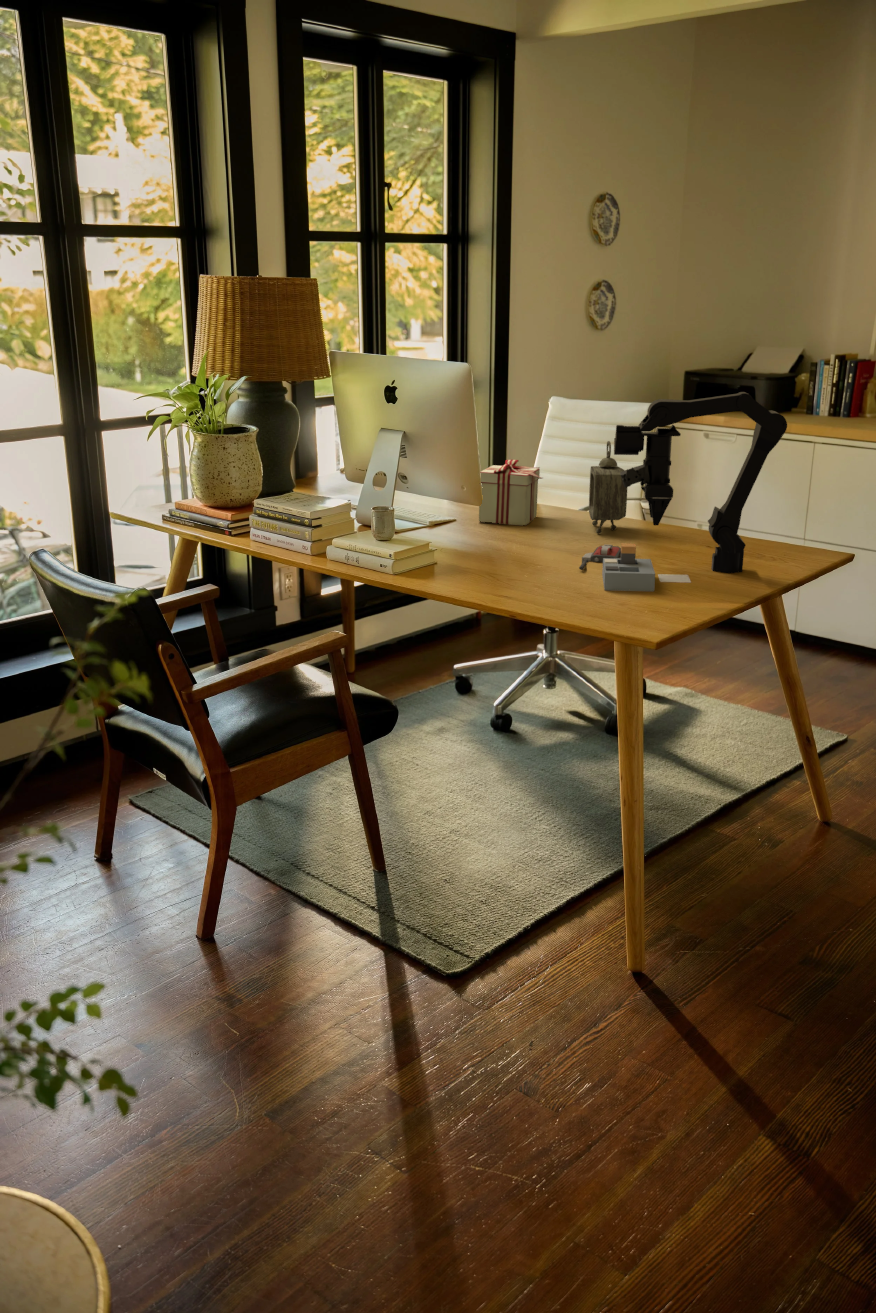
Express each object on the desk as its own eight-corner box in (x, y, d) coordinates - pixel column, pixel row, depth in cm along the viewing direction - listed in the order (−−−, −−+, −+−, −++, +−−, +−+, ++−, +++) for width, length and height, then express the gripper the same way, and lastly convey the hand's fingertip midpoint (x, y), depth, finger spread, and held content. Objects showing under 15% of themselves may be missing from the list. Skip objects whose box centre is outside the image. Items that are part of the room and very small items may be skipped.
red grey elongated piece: (589, 555, 280) (576, 573, 262) (589, 538, 279) (576, 555, 261) (623, 557, 278) (612, 576, 260) (623, 540, 277) (613, 558, 258)
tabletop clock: (588, 525, 314) (591, 437, 306) (619, 525, 314) (623, 437, 306) (592, 535, 301) (596, 444, 293) (625, 535, 300) (630, 444, 292)
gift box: (539, 526, 313) (541, 467, 307) (477, 524, 317) (477, 465, 311) (548, 515, 328) (549, 458, 323) (488, 513, 332) (488, 456, 327)
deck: (687, 578, 255) (687, 574, 255) (690, 586, 249) (691, 582, 248) (657, 578, 256) (657, 574, 256) (659, 585, 249) (660, 581, 249)
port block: (649, 579, 255) (650, 557, 253) (653, 595, 242) (655, 572, 240) (602, 578, 256) (603, 556, 254) (604, 594, 243) (605, 571, 241)
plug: (633, 577, 253) (635, 543, 250) (634, 580, 250) (635, 546, 247) (619, 576, 253) (621, 543, 251) (620, 580, 250) (621, 546, 248)
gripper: (621, 449, 262) (618, 513, 267) (625, 460, 244) (621, 528, 249) (668, 449, 261) (664, 513, 266) (675, 461, 243) (671, 529, 248)
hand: (654, 521), depth 257 cm, fingers open, 9 cm apart
